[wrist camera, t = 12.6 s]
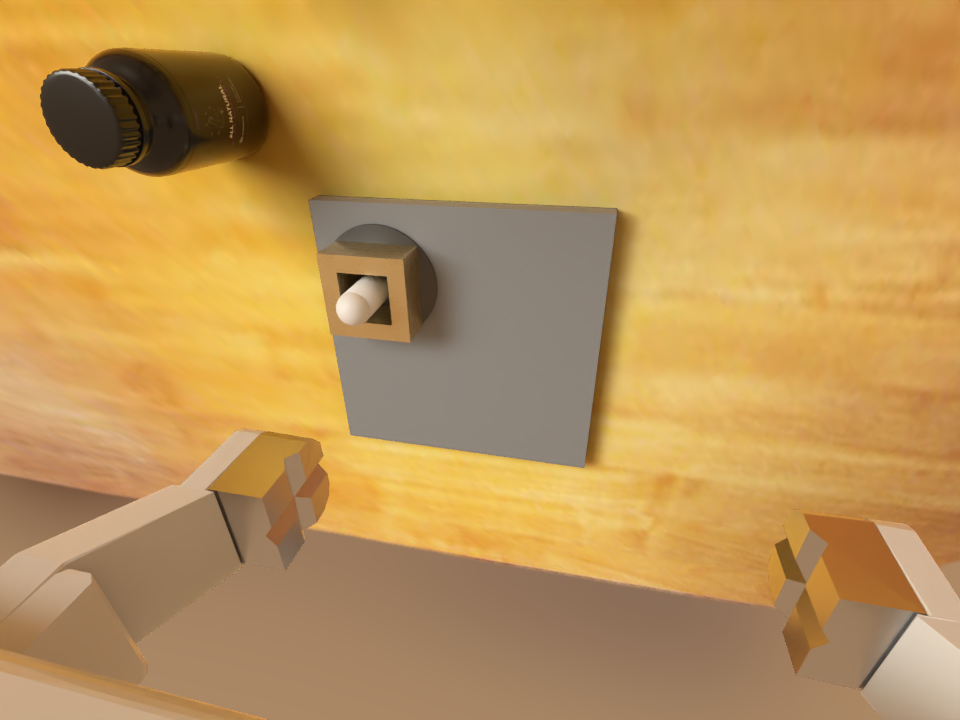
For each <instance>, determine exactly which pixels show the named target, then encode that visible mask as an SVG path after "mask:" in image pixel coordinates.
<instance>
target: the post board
mask: <svg viewBox="0 0 960 720" xmlns="http://www.w3.org/2000/svg"><path fill="white" fill-rule="evenodd" d="M309 206H310V211H311V217H312V222H313V228H314V233H315V239H316V245H317V250H318V252H320V251H321V250H323V249H324V248H326V247H327V246H329V245H330V244H332V243H333V242H335V241H348V242H363V243H379V244H394V245H410V246H417V250H418V264H419V277H420V291H421V305H422V318H423V326H422V327H421V328H420V330H419V331H418V333H417V334H416V335H415V337H414V338H413V340H412V341H411V343H408V342H398V341H388V340H379V339H369V338H359V337H349V336H340V335H333V339H334V345H335V350H336V356H337V362H338V367H339V373H340V378H341V384H342V389H343V395H344V401H345V406H346V412H347V417H348V423H349V428H350V434H351V435H354V436H361V437H368V438H375V439H382V440H389V441H396V442H403V443H411V444H418V445H425V446H432V447H439V448H446V449H453V450H460V451H467V452H474V453H481V454H488V455H496V456H503V457H510V458H517V459H524V460H531V461H538V462H545V463H552V464H559V465H566V466H574V467H581V468H584V466H585V459H586V451H587V443H588V435H589V428H590V420H591V412H592V404H593V397H594V389H595V381H596V373H597V365H598V358H599V350H600V342H601V334H602V327H603V319H604V311H605V303H606V296H607V288H608V280H609V272H610V264H611V257H612V249H613V241H614V233H615V226H616V218H617V208H596V207H574V206H551V205H528V204H505V203H482V202H459V201H437V200H414V199H391V198H368V197H345V196H322V195H318V196H316V197H314V198H312V199H309ZM380 306H384V307H390V301H389V292H388V282H387V276H374V275H361V274H357V282H356V283H355V284H354V285H353V286H352V287H351V288H349V289H348V290H347V291H346V292H345V293H344V294H343V295H342V296H341V297H340V298H339V299H338V301H337V304H336V312H337V315H338V317H339V318H340V320H341V321H342V322H344V323H345V324H347V325H351V326H358V325H361V324H363V323H365V322H366V321H367V320H368V319H369V318H370V317H371V316H372V315H373V314H374V312H375V311H376V310H377V309H378V308H379V307H380Z"/></svg>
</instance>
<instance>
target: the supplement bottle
mask: <svg viewBox="0 0 960 720" xmlns="http://www.w3.org/2000/svg"><path fill="white" fill-rule="evenodd" d="M40 98H41V107H42V110H43V116H44V118H45V120H46V124H47V126H48V127H49V129H50V132H51V134H52V135H53V136H54V137H55V139H56V141H57V143H58V144H59V145H61V147H62V148H63V150H64V151H66V152H67V153H68V154H69V155H70V156H71V157H72V158H75V159H76V160H77V161H78V162H79V163H83V164H84V165H85V166H90V167H92V168H94V169H98V168H99V169H108V168H113V167H126V168H128V169H130V170H132V171H134V172H137V173H139V174H142V175H146V176H152V177H162V176H169V175H173V174H178V173H182V172H186V171H190V170H195V169H199V168H203V167H208V166H212V165H216V164H220V163H225V162H229V161H233V160H237V159H241V158H244V157H247V156H249V155H251V154H252V153H254V152H255V151H256V150H257V149H258V148H259V147H260V145H261V144H262V142H263V140H264V138H265V135H266V131H267V124H268V116H267V108H266V104H265V100H264V98H263V95H262V93H261V90H260V88H259V86H258V85H257V83H256V82H255V80H254V79H253V77H252V76H251V75H250V74H249V72H248V71H247V70H246V69H245V68H244V67H243V66H241V65H240V64H239V63H237V62H236V61H235V60H233V59H231V58H229V57H227V56H225V55H222V54H217V53H210V52H196V51H176V50H156V49H136V48H112V49H107V50H105V51H102V52H100V53H98V54H97V55H95V56H94V57H93V58H92V59H91V60H90V61H89V62H88V64H87V65H86V66H85V67H82V68H78V69H60V70H56V71H53V72H52V74H49V75H48V76H47V79H45V80H44V81H43V86H42V87H41V94H40Z"/></svg>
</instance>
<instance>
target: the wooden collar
mask: <svg viewBox="0 0 960 720" xmlns="http://www.w3.org/2000/svg"><path fill="white" fill-rule="evenodd" d="M317 260H318V265H319V271H320V277H321V282H322V288H323V293H324V299H325V304H326V310H327V316H328V321H329V327H330V332H331V335H340V336H349V337H359V338H369V339H379V340H388V341H398V342H408V343H411V341H412V340H413V338H414V337H415V335H416V334H417V333H418V331H419V330H420V328H421V327H422V326H423V318H422V305H421V291H420V277H419V264H418V250H417V246H410V245H394V244H379V243H363V242H348V241H335V242H333V243H332V244H330V245H329V246H327V247H326V248H324V249H323V250H321V251H320V252H318V253H317ZM357 274H361V275H374V276H387V282H388V292H389V301H390V307H384V306H380V307H379V308H378V309H377V310H376V311H375V312H374V314H373V315H372V316H371V317H370V318H369V319H368V320H367V321H366V322H365V323H363V324H361V325H358V326H351V325H347V324H345V323H344V322H342V321H341V320H340V318H339V317H338V315H337V312H336V304H337V301H338V299H339V298H340V297H341V296H342V295H343V294H344V293H345V292H346V291H347V290H348V289H349V288H351V287H352V286H353V285H354V284H355V283H356V282H357Z"/></svg>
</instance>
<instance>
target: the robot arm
mask: <svg viewBox="0 0 960 720" xmlns="http://www.w3.org/2000/svg"><path fill="white" fill-rule="evenodd" d="M322 457H323V452H322V449H321V445H320V442H318V441H316V440H314V439H310V438H304V437H298V436H293V435H287V434H281V433H275V432H269V431H267V432H266V431H260V430H254V429H249V428H243V429H240V430H237V431H235V432H234V433H233V434H232V435H231V436H230V437H229V438H228V439H227V440H226V441H225V442H224V443H223V444H222V445H221V446H220V447H219V448H218V449H217V450H216V451H215V452H214V453H213V454H212V455H211V456H210V457H209V458H208V459H207V460H206V461H205V462H204V463H203V464H202V465H201V466H200V467H198V468H197V469H196V470H195V471H194V472H193V473H192V474H191V475H190V476H189V477H188V478H187V479H186V480H185V481H184V482H183V483H182V484H181V485H180V486H179V485H170V486H168V487H166V488H163V489H161V490H159V491H157V492H154V493H152V494H150V495H148V496H145V497H143V498H141V499H139V500H136V501H134V502H132V503H130V504H127V505H125V506H123V507H121V508H118V509H116V510H114V511H112V512H109V513H107V514H105V515H103V516H100V517H98V518H96V519H94V520H91V521H89V522H87V523H84V524H82V525H80V526H78V527H75V528H73V529H71V530H69V531H66V532H64V533H62V534H60V535H57V536H55V537H53V538H51V539H48V540H46V541H44V542H42V543H39V544H37V545H35V546H33V547H30V548H28V549H26V550H23V551H21V552H19V553H17V554H15V555H14V556H13V557H12V558H10V559H9V560H8V561H7V562H5V563H4V564H3V565H2V566H1V567H0V720H268V719H264V718H260V717H256V716H253V715H249V714H245V713H241V712H238V711H234V710H230V709H226V708H223V707H219V706H215V705H211V704H208V703H204V702H200V701H196V700H192V699H189V698H185V697H181V696H178V695H174V694H170V693H166V692H163V691H159V690H155V689H151V688H147V687H144V686H140V685H139V684H140V683H141V681H142V680H143V679H144V677H145V676H146V674H147V673H148V663H147V661H146V660H145V658H144V657H143V655H142V653H141V652H140V650H139V649H138V647H137V645H136V643H137V642H138V641H140V640H141V639H143V638H144V637H146V636H147V635H148V634H150V633H151V632H153V631H154V630H155V629H157V628H158V627H160V626H161V625H162V624H164V623H165V622H167V621H168V620H169V619H171V618H172V617H174V616H175V615H176V614H178V613H179V612H181V611H182V610H183V609H185V608H186V607H187V606H189V605H190V604H192V603H193V602H194V601H196V600H197V599H198V598H200V597H201V596H203V595H204V594H206V593H207V592H208V591H210V590H211V589H213V588H214V587H215V586H217V585H218V584H219V583H221V582H222V581H224V580H225V579H227V578H228V577H229V576H231V575H232V574H233V573H235V572H236V571H238V570H239V569H241V568H242V565H248V566H254V567H260V568H265V569H271V570H277V571H283V572H286V570H287V569H288V567H289V565H290V563H291V562H292V561H293V559H294V558H295V556H296V554H297V553H298V551H299V550H300V548H301V547H302V545H303V544H304V542H305V540H304V533H303V530H305V529H307V528H309V527H310V526H312V525H314V524H315V523H317V521H318V520H319V518H320V516H321V515H322V513H323V511H324V509H325V506H326V503H327V500H328V496H329V479H328V474H327V473H326V472H325V471H324V469H323V468H322V467H321V466H320V465H319V464H318V463H319V461H320V460H321V459H322ZM783 527H784V530H785V533H786V535H787V538H786V539H784V540H782V541H781V542H779V543H777V544H775V545H774V548H773V551H772V553H771V556H770V559H769V569H768V580H769V587H770V592H771V596H772V599H773V603H774V605H775V606H776V607H777V608H778V609H779V610H780V611H781V612H782V613H783V614H784V615H785V616H786V617H787V618H788V621H787V623H786V626H785V628H784V629H783V636H784V639H785V642H786V645H787V648H788V652H789V655H790V658H791V661H792V664H793V668H794V671H795V674H796V676H801V677H805V678H810V679H814V680H818V681H823V682H827V683H831V684H836V685H840V686H844V687H849V688H853V689H858V690H862V691H861V695H862V696H863V697H864V698H865V699H866V701H867V702H868V703H869V704H870V705H871V707H872V708H873V709H874V710H875V711H876V712H877V714H878V715H879V716H880V717H881V718H882V720H960V599H959V597H958V596H957V594H956V593H955V591H954V590H953V588H952V587H951V585H950V584H949V582H948V581H947V579H946V577H945V576H944V574H943V573H942V571H941V570H940V568H939V567H938V565H937V564H936V562H935V561H934V559H933V558H932V556H931V555H930V553H929V552H928V550H927V549H926V547H925V546H924V544H923V543H922V541H921V540H920V538H919V537H918V535H917V534H916V532H915V531H914V530H913V529H912V528H911V527H909V526H908V525H907V524H904V523H897V522H889V521H882V520H874V519H863V518H857V517H850V516H843V515H835V514H828V513H821V512H814V511H806V510H799V509H794V510H792V511H791V512H790V513H789V514H788V516H787V518H786V520H785V522H784V524H783Z"/></svg>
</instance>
